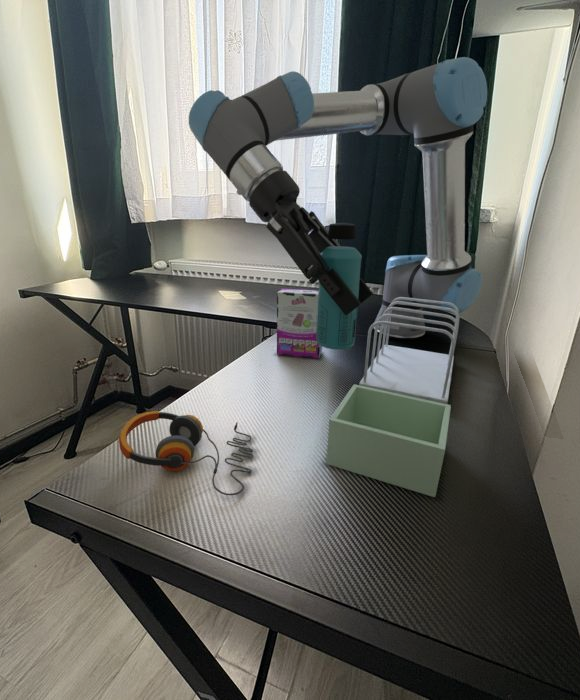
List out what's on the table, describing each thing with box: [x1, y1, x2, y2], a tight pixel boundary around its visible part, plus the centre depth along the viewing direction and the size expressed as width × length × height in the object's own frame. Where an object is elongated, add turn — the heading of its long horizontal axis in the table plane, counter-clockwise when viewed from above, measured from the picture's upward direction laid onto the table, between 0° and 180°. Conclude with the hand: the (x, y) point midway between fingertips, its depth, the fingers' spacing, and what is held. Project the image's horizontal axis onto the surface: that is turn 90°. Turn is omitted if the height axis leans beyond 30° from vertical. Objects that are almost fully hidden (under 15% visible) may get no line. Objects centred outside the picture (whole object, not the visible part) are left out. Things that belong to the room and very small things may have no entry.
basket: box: [325, 383, 452, 498], centre depth 58 cm, size 13×16×8 cm
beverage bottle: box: [316, 222, 363, 350], centre depth 58 cm, size 6×7×20 cm
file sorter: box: [358, 297, 460, 405], centre depth 83 cm, size 25×17×16 cm
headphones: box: [118, 410, 254, 496], centre depth 57 cm, size 17×5×20 cm
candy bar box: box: [276, 288, 323, 359], centre depth 94 cm, size 11×5×16 cm, turn 78°
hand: (360, 304), depth 57 cm, fingers closed on beverage bottle, 6 cm apart
